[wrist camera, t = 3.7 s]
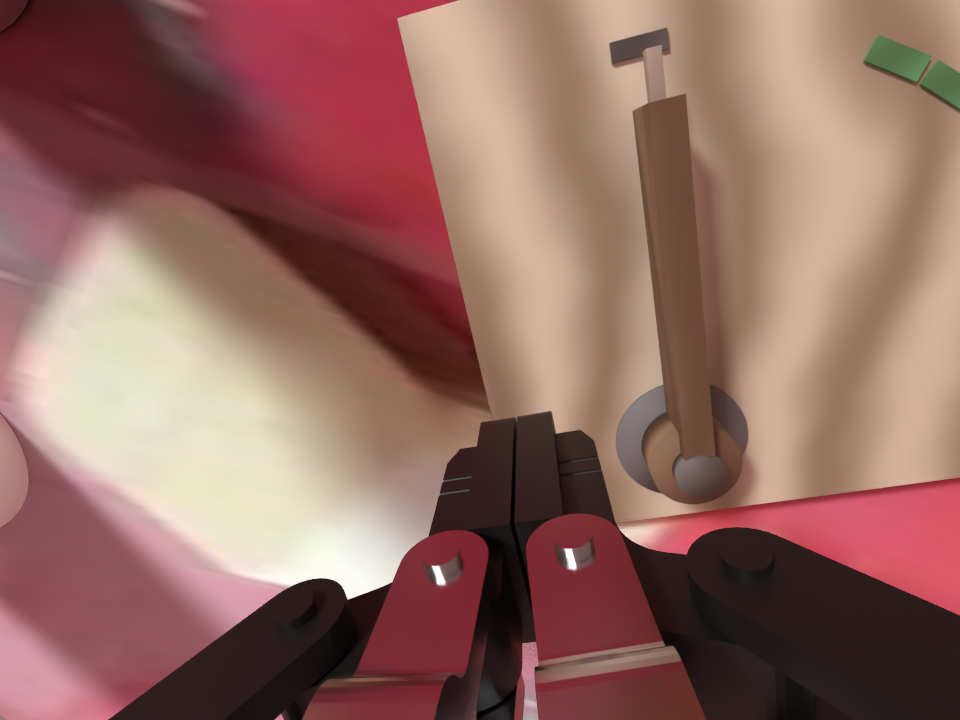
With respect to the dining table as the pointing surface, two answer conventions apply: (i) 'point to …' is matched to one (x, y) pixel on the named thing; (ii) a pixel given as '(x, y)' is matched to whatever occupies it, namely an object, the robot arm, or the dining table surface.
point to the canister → (11, 474)
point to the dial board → (711, 226)
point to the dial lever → (678, 306)
